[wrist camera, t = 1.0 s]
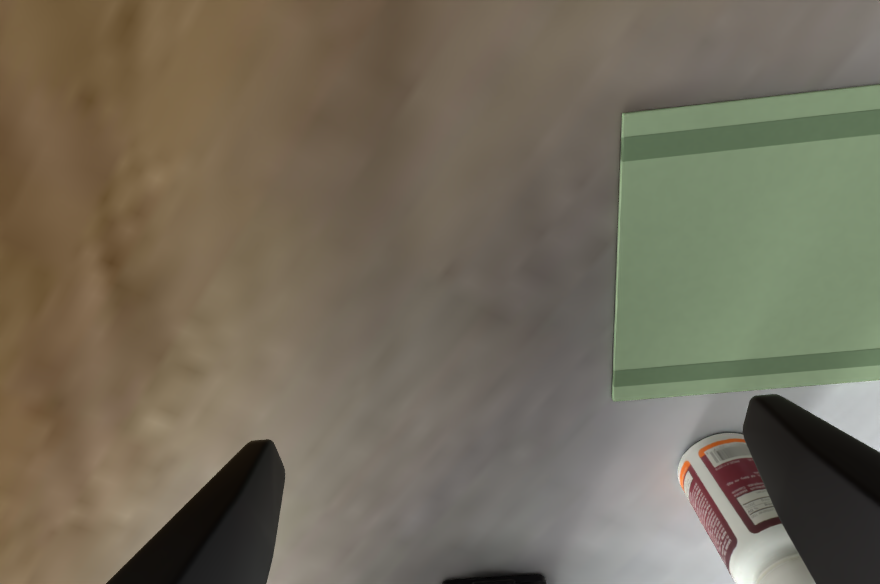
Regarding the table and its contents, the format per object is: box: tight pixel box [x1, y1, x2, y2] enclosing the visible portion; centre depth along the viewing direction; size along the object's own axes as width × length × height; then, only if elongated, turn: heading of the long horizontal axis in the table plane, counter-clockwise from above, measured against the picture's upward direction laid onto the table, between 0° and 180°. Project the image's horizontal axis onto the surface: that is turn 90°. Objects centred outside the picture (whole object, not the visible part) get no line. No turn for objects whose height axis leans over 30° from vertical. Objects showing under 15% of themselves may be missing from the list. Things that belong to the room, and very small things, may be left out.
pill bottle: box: [678, 433, 816, 584], centre depth 24 cm, size 5×5×8 cm
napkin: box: [612, 84, 880, 402], centre depth 22 cm, size 14×20×1 cm
